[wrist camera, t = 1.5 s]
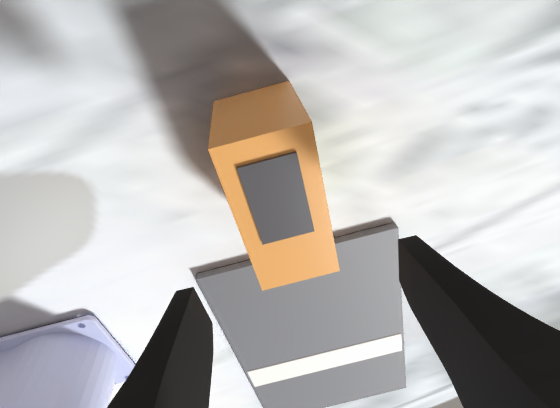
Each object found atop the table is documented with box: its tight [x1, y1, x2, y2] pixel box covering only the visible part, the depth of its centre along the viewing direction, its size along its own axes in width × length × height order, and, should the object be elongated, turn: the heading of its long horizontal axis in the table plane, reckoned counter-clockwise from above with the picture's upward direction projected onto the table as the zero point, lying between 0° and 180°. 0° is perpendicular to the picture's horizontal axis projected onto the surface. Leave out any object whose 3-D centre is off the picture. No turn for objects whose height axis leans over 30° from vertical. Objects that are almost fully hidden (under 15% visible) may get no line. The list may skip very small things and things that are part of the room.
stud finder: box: [208, 81, 340, 291], centre depth 18 cm, size 4×8×6 cm, turn 13°
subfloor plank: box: [196, 222, 406, 408], centre depth 30 cm, size 14×21×1 cm, turn 13°
